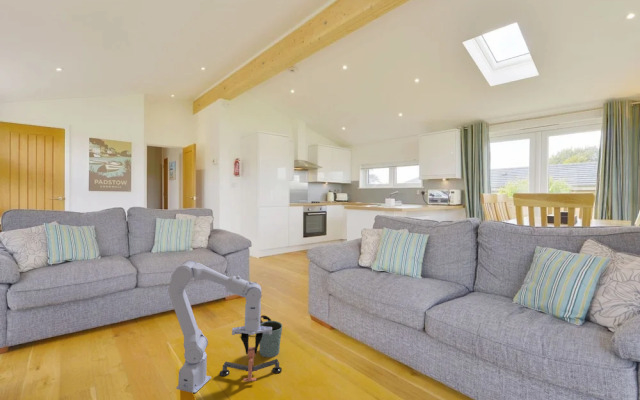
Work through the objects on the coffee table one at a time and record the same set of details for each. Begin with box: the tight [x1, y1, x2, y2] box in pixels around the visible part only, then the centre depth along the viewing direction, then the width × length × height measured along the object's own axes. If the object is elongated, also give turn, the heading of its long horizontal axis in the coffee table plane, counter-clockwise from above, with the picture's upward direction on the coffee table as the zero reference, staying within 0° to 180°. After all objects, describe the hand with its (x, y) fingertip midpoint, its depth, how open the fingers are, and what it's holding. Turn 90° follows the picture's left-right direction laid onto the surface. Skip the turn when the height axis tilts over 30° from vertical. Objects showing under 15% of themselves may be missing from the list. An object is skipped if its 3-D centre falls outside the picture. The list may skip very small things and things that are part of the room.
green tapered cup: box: [258, 320, 283, 358], centre depth 135 cm, size 10×10×12 cm
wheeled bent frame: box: [219, 358, 282, 377], centre depth 119 cm, size 12×22×4 cm, turn 76°
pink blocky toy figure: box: [243, 346, 258, 382], centre depth 115 cm, size 4×7×10 cm, turn 7°
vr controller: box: [260, 314, 272, 324], centre depth 155 cm, size 12×10×8 cm
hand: (251, 352), depth 115 cm, fingers closed on pink blocky toy figure, 2 cm apart
